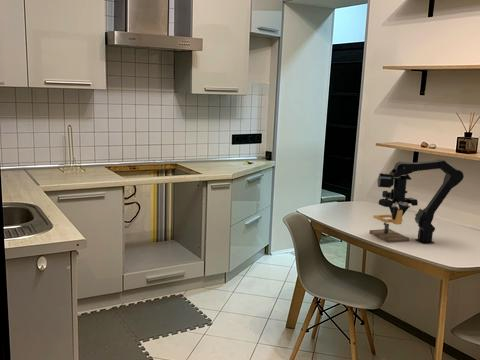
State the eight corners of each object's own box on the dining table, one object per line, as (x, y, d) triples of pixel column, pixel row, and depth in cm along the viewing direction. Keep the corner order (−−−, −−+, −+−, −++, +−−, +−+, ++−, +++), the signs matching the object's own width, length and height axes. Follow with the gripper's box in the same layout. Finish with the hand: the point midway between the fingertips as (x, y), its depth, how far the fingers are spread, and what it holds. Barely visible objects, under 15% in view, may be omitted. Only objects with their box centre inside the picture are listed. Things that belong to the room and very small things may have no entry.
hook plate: (409, 241, 231) (410, 229, 229) (388, 242, 227) (389, 230, 226) (389, 231, 245) (390, 220, 244) (369, 232, 242) (370, 221, 241)
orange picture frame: (373, 217, 240) (374, 204, 239) (389, 216, 243) (391, 203, 242) (390, 224, 227) (391, 210, 226) (407, 223, 230) (408, 209, 229)
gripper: (405, 184, 238) (402, 214, 240) (373, 185, 232) (370, 216, 235) (420, 188, 227) (416, 220, 230) (387, 190, 221) (384, 222, 224)
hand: (396, 219), depth 230 cm, fingers closed on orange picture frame, 3 cm apart
